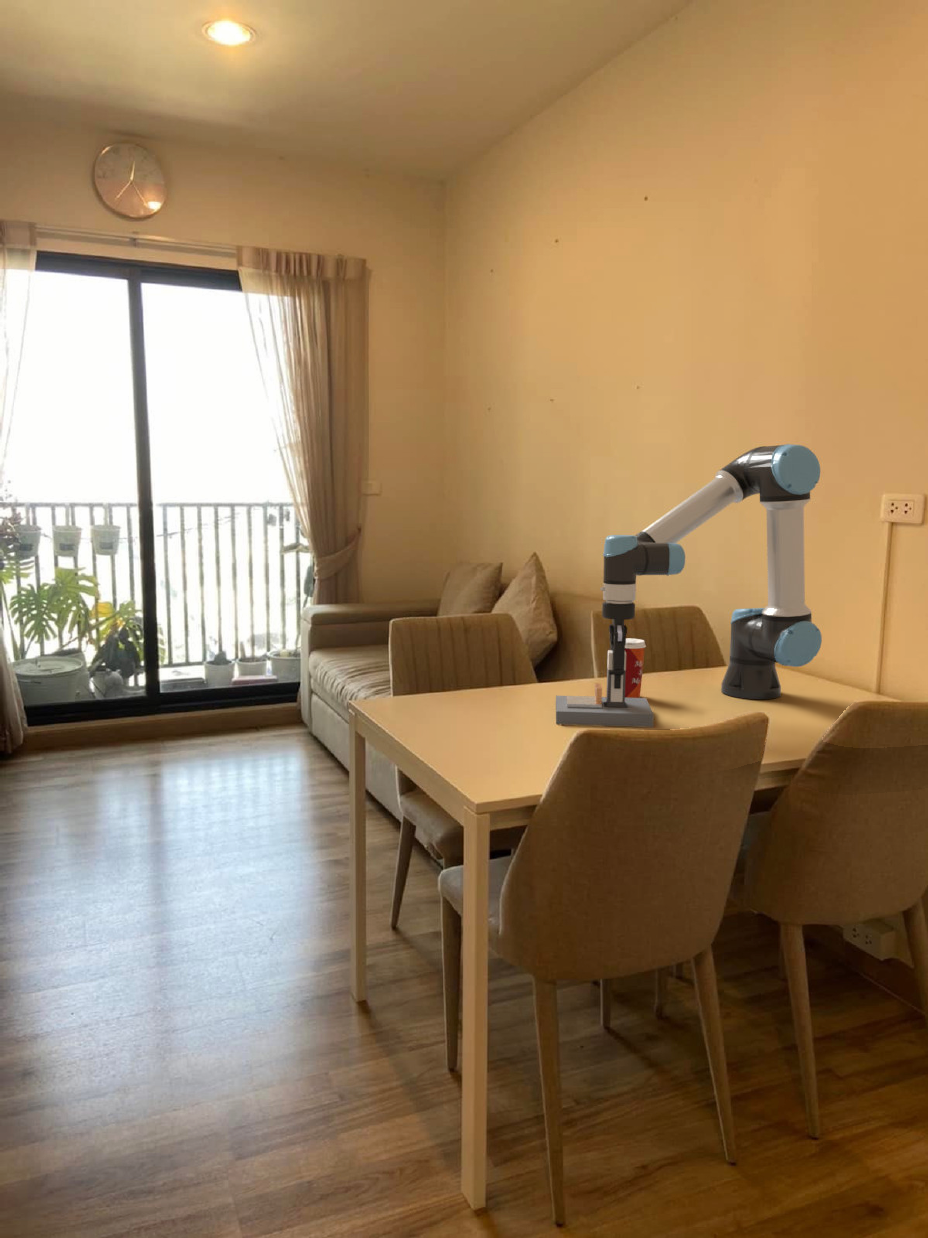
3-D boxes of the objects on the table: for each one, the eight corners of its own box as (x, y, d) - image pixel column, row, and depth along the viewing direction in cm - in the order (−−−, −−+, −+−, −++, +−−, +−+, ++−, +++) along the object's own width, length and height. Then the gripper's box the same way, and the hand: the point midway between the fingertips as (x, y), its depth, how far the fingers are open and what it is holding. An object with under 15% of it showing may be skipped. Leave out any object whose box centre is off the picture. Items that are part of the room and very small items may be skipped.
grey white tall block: (622, 707, 213) (624, 650, 211) (624, 712, 210) (626, 653, 208) (606, 707, 214) (607, 650, 212) (607, 711, 210) (608, 653, 208)
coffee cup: (644, 701, 228) (646, 643, 226) (611, 699, 230) (613, 642, 228) (644, 694, 236) (646, 638, 234) (612, 692, 238) (614, 637, 236)
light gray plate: (599, 700, 216) (600, 682, 215) (601, 708, 208) (602, 689, 207) (566, 699, 216) (566, 681, 216) (567, 707, 209) (567, 688, 208)
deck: (645, 710, 219) (645, 698, 219) (653, 727, 203) (653, 714, 203) (555, 707, 221) (555, 695, 221) (556, 723, 205) (556, 711, 205)
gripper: (600, 596, 217) (597, 690, 220) (604, 605, 200) (601, 707, 203) (631, 597, 216) (628, 691, 219) (638, 606, 199) (635, 708, 203)
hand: (615, 698), depth 211 cm, fingers closed on grey white tall block, 4 cm apart
